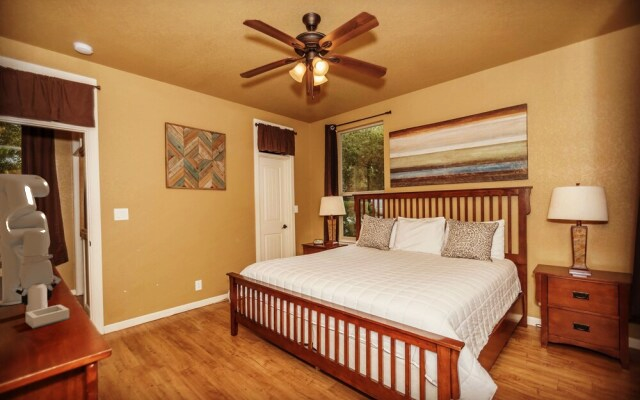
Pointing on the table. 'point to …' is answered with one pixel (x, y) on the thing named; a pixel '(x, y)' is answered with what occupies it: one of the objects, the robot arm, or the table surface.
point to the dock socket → (47, 316)
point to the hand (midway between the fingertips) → (37, 301)
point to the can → (37, 297)
